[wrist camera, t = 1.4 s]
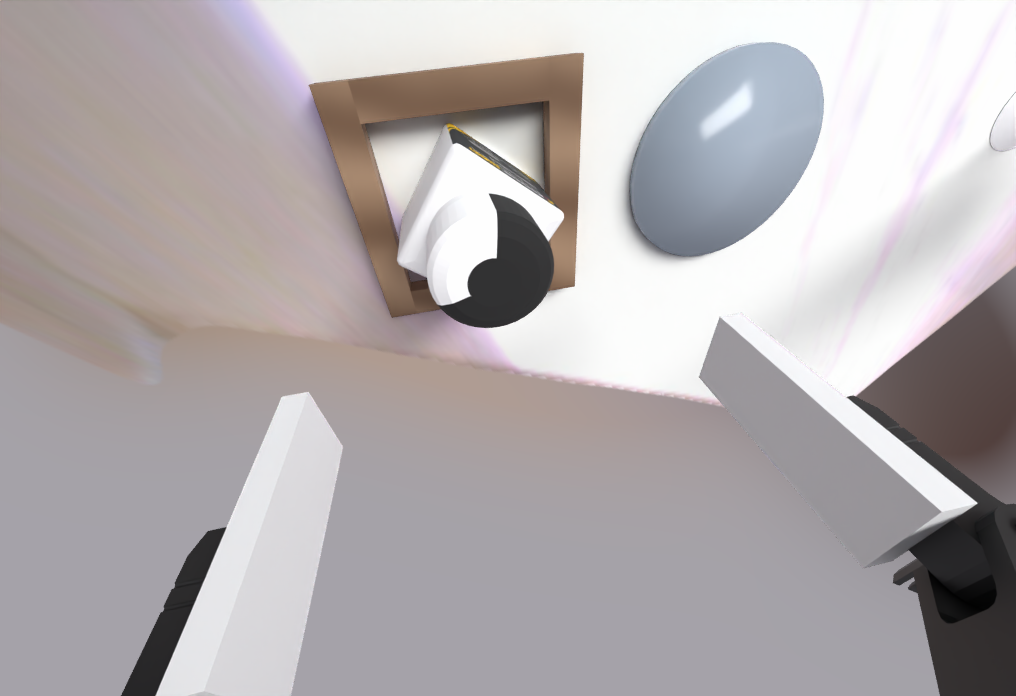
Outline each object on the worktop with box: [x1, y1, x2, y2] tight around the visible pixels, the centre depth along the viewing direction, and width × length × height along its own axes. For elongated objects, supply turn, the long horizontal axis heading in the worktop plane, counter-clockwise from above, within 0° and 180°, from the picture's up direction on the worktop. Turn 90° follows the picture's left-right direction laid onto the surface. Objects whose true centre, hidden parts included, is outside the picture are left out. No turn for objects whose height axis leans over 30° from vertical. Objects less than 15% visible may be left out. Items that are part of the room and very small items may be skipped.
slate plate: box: [630, 42, 824, 256], centre depth 27 cm, size 14×14×1 cm
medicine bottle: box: [397, 123, 564, 328], centre depth 21 cm, size 7×7×12 cm
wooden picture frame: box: [309, 53, 584, 318], centre depth 25 cm, size 15×15×2 cm
